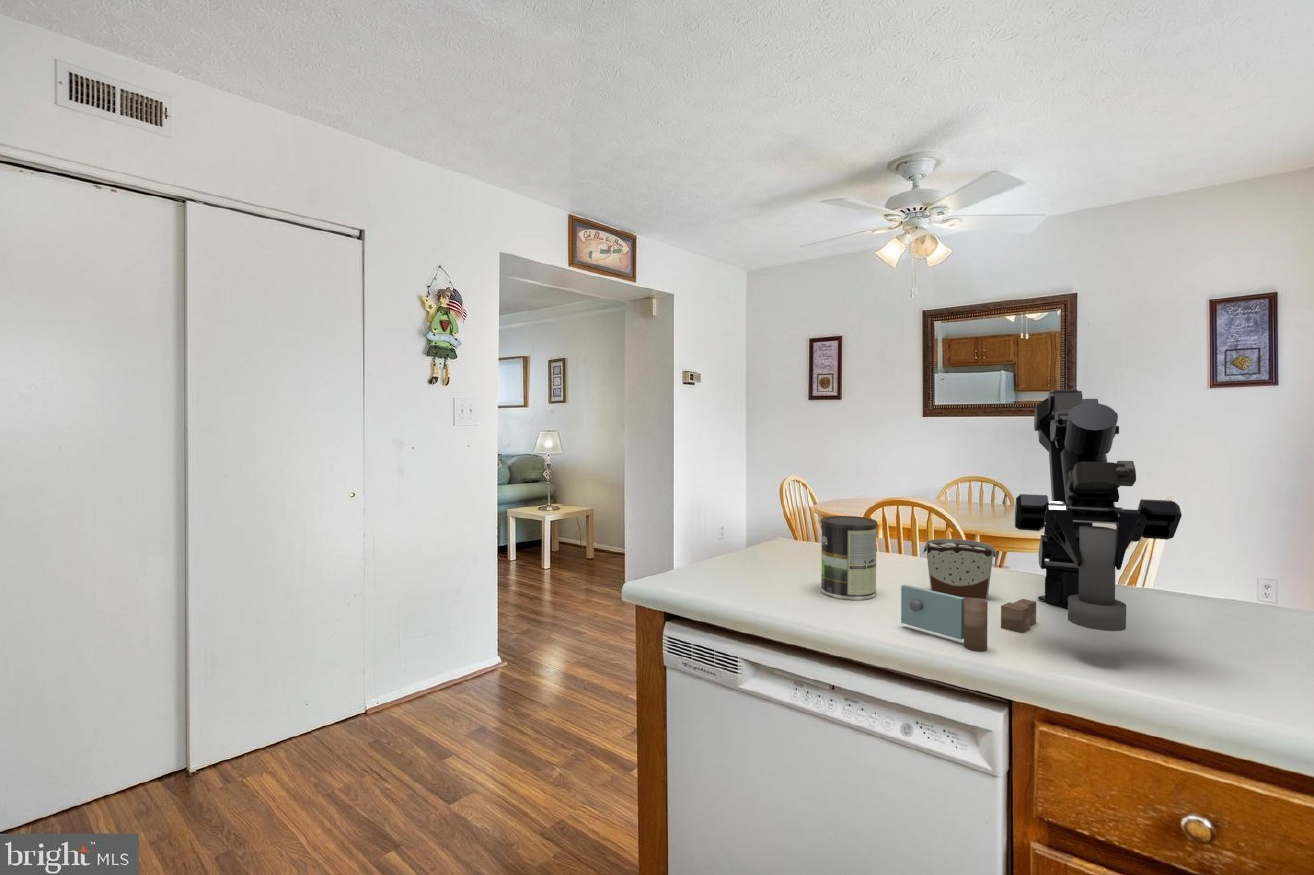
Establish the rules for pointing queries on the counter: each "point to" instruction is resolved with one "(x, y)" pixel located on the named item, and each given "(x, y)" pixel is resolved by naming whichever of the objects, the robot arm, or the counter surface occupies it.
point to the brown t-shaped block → (1012, 618)
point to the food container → (960, 567)
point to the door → (932, 611)
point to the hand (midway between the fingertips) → (1098, 566)
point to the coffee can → (848, 557)
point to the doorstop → (1097, 582)
